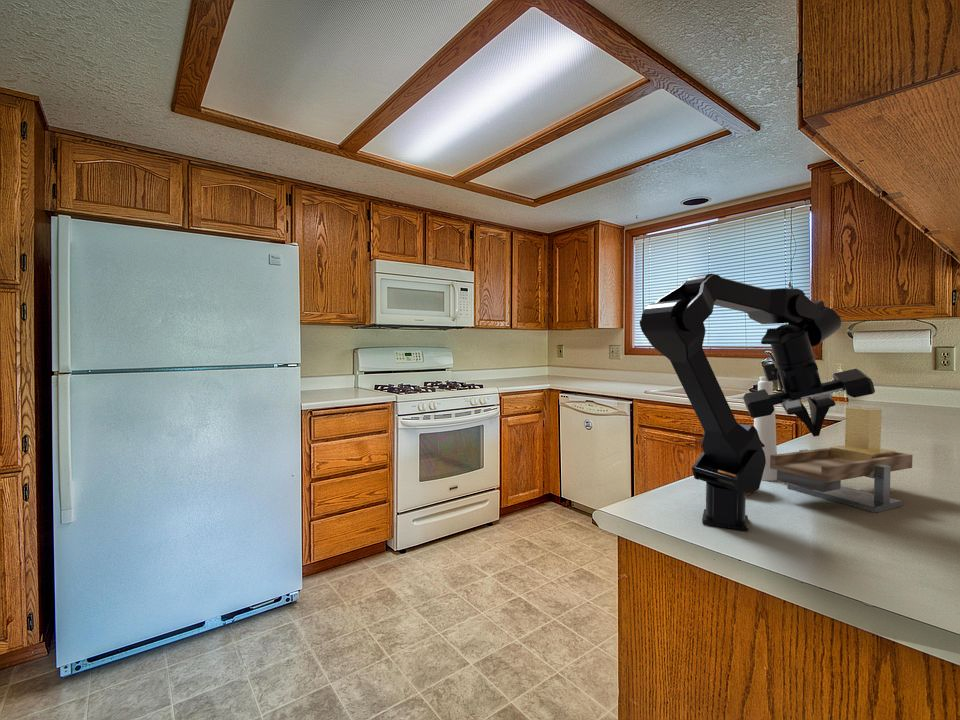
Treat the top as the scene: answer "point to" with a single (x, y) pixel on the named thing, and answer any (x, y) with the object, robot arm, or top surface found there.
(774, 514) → the top surface
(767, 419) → the cosmetic bottle
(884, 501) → the beam stand
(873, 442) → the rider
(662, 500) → the top surface
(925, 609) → the top surface
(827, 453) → the beam
